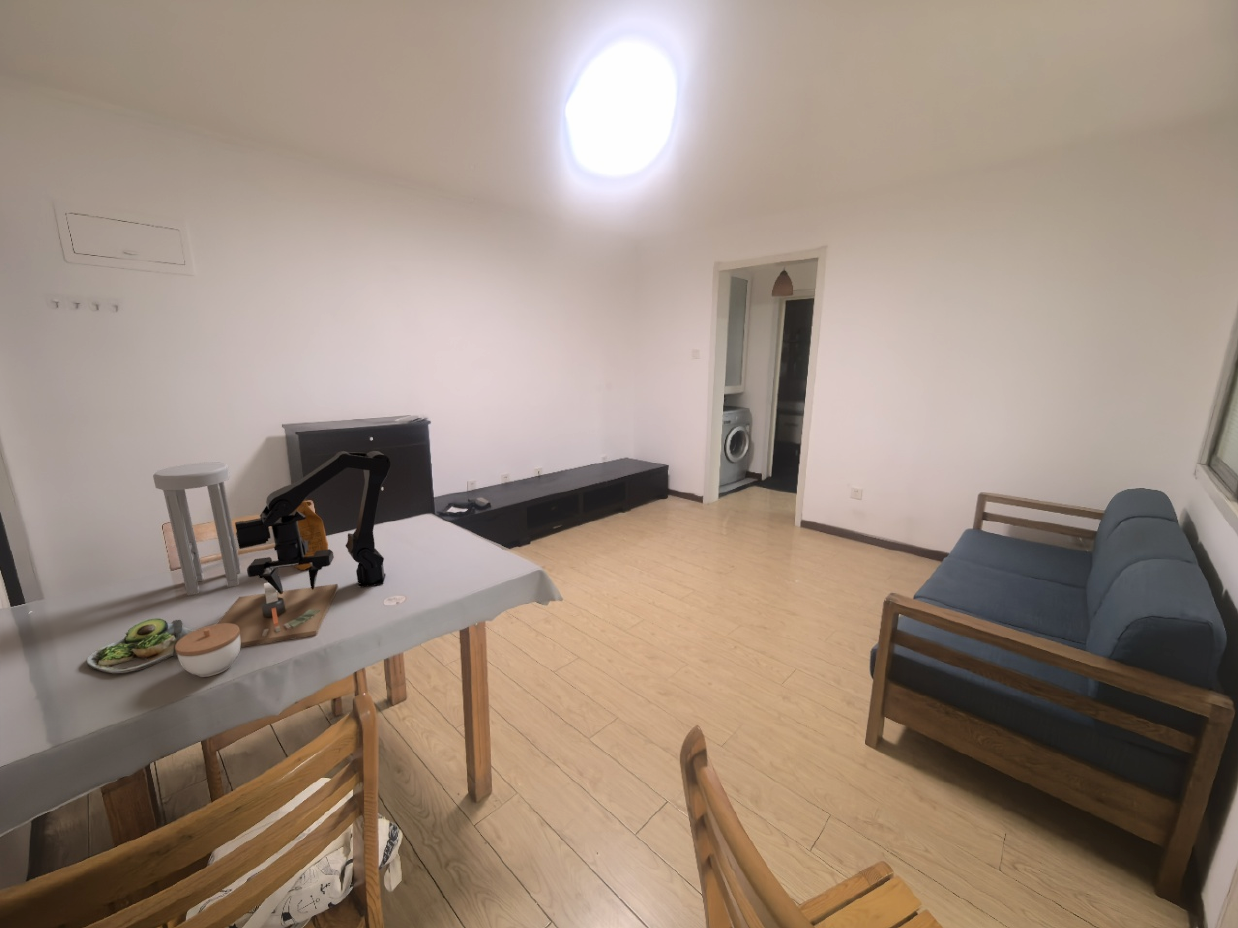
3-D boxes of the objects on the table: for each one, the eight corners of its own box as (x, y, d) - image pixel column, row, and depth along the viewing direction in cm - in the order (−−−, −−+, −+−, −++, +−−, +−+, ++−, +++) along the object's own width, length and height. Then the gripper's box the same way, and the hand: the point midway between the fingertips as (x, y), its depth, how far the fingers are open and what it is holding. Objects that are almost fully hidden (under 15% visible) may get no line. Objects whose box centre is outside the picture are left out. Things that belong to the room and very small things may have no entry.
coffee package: (323, 551, 165) (313, 490, 160) (332, 563, 156) (323, 498, 151) (288, 560, 158) (277, 496, 153) (296, 573, 150) (285, 505, 144)
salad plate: (221, 639, 116) (218, 622, 115) (126, 687, 100) (121, 668, 99) (173, 623, 123) (169, 606, 122) (76, 664, 107) (71, 646, 106)
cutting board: (338, 587, 141) (337, 582, 141) (316, 634, 118) (315, 629, 118) (239, 600, 133) (238, 595, 133) (196, 654, 110) (195, 648, 110)
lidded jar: (193, 691, 99) (184, 651, 96) (174, 672, 104) (164, 634, 102) (254, 663, 108) (246, 625, 105) (233, 647, 113) (225, 611, 111)
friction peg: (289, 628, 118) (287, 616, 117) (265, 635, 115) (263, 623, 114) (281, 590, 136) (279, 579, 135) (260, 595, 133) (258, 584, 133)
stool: (249, 566, 154) (229, 459, 146) (246, 586, 142) (223, 470, 133) (186, 578, 146) (160, 466, 137) (176, 600, 133) (147, 478, 125)
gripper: (333, 523, 139) (341, 572, 142) (256, 531, 133) (267, 583, 136) (324, 537, 128) (333, 590, 132) (240, 547, 122) (253, 602, 126)
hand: (297, 591), depth 132 cm, fingers open, 7 cm apart
